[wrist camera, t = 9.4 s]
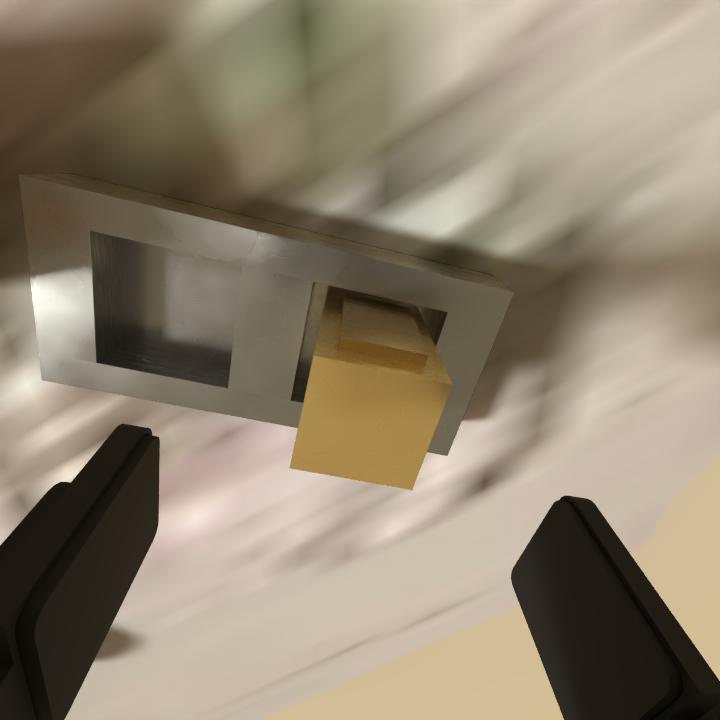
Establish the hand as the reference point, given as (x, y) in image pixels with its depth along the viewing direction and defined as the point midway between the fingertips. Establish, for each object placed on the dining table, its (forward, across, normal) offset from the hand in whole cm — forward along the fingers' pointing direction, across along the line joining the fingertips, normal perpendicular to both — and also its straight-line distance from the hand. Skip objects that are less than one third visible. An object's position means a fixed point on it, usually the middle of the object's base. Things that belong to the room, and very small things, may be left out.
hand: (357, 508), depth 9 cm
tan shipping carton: (+12, -1, +1) cm, 12 cm away
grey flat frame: (+13, +4, +1) cm, 13 cm away
